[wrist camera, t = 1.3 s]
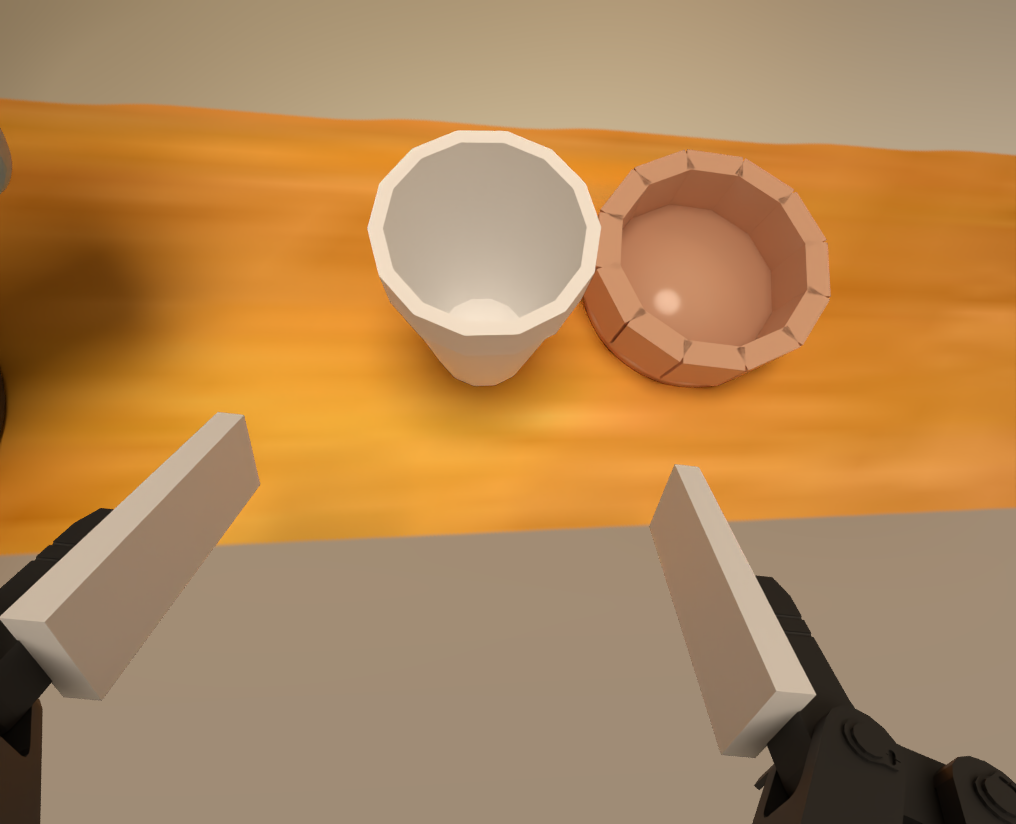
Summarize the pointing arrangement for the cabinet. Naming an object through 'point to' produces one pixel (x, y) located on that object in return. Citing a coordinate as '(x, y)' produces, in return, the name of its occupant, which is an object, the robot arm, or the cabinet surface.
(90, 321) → the cabinet surface
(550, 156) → the foam cup
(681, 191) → the bowl
